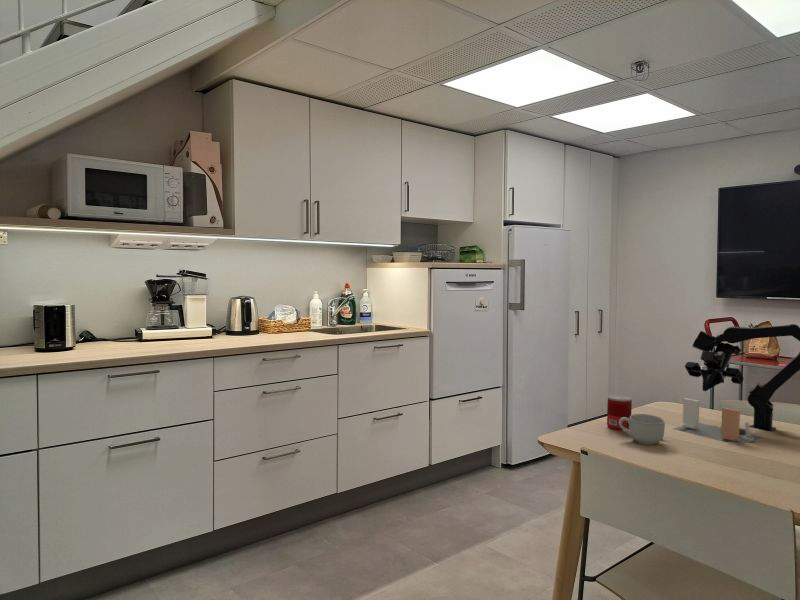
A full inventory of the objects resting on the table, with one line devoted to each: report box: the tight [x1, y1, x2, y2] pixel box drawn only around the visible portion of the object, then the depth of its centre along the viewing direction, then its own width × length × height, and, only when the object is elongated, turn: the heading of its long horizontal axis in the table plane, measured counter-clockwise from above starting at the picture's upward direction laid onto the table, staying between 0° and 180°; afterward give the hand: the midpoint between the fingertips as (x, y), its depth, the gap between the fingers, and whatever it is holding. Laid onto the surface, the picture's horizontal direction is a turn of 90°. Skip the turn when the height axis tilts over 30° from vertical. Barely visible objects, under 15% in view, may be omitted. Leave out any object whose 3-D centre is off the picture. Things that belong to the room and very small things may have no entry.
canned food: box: [606, 394, 633, 431], centre depth 201 cm, size 8×8×11 cm
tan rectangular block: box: [720, 407, 741, 441], centre depth 185 cm, size 3×5×10 cm, turn 34°
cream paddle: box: [682, 397, 700, 429], centre depth 198 cm, size 3×5×10 cm, turn 34°
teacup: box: [619, 413, 666, 446], centre depth 185 cm, size 14×11×8 cm
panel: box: [672, 421, 764, 446], centre depth 192 cm, size 16×22×7 cm
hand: (703, 390), depth 202 cm, fingers closed
